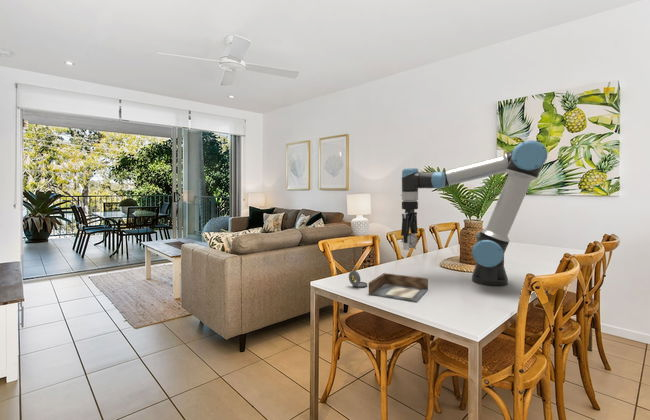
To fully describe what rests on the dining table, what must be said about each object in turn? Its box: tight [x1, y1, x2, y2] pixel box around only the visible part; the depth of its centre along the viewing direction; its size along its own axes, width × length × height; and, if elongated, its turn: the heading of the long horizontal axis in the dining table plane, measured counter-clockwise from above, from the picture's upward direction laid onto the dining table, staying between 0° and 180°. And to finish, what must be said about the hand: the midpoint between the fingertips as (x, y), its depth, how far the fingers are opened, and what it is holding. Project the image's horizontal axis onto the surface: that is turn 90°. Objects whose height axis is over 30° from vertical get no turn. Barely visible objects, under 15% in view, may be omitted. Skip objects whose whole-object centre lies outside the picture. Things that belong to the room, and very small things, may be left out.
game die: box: [400, 232, 420, 250], centre depth 161 cm, size 9×8×10 cm
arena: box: [368, 272, 429, 303], centre depth 142 cm, size 20×18×5 cm
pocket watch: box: [348, 265, 368, 288], centre depth 152 cm, size 8×8×10 cm
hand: (409, 248), depth 162 cm, fingers closed on game die, 8 cm apart
